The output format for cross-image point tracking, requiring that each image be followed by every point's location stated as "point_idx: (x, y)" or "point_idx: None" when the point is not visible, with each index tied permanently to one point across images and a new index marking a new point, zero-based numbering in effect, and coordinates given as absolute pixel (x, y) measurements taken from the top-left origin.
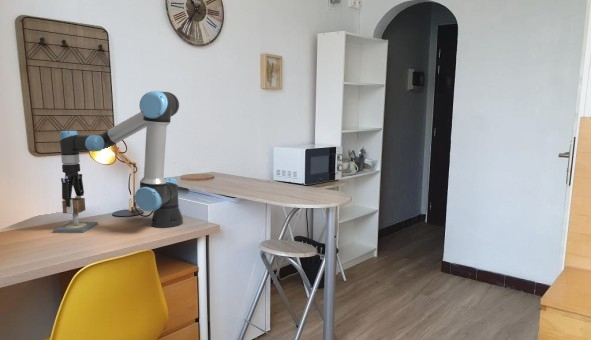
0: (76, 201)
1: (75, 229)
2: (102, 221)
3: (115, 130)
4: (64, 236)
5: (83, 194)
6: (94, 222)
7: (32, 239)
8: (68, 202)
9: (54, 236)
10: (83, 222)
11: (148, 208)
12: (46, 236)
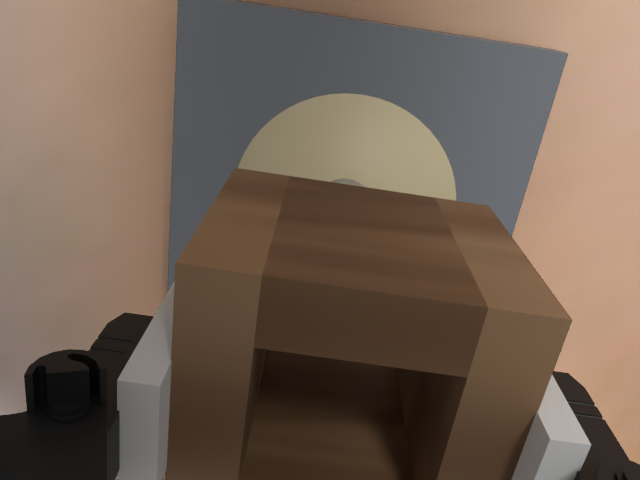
0: (566, 316)
1: (525, 150)
2: (4, 6)
3: None
4: (619, 207)
5: (38, 365)
6: (210, 31)
7: (625, 433)
8: (614, 444)
9: (584, 300)
10: (202, 178)
11: None
12: (560, 366)
